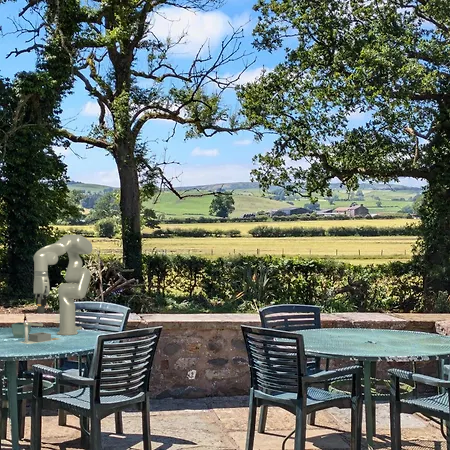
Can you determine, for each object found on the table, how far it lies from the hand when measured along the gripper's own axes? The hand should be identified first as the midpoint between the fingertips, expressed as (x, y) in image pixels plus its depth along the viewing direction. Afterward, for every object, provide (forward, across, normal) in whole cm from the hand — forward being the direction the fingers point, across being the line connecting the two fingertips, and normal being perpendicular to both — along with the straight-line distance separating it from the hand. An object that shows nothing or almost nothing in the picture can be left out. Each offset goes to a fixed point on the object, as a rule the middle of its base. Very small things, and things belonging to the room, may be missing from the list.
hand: (41, 305), depth 407 cm
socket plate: (+21, 0, +4) cm, 21 cm away
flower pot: (+21, +19, +1) cm, 29 cm away
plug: (+4, 0, 0) cm, 4 cm away
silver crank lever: (+11, -5, +9) cm, 14 cm away
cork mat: (+21, -1, -8) cm, 23 cm away
